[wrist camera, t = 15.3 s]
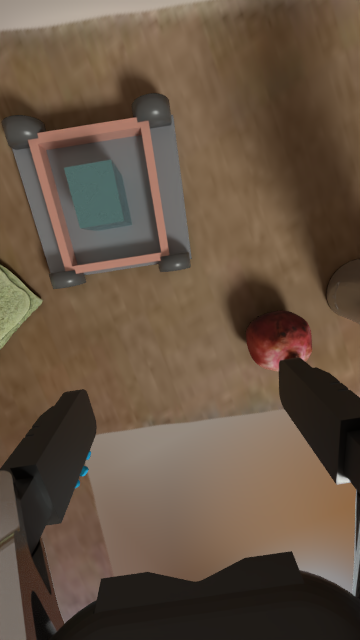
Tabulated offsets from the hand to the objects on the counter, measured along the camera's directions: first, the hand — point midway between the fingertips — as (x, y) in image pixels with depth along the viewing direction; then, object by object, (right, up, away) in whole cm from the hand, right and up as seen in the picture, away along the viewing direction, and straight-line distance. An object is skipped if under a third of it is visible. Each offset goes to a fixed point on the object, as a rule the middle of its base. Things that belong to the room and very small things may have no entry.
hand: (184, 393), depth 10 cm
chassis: (-10, +19, +23) cm, 31 cm away
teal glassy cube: (-10, +18, +22) cm, 30 cm away
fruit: (+14, +1, +30) cm, 33 cm away
